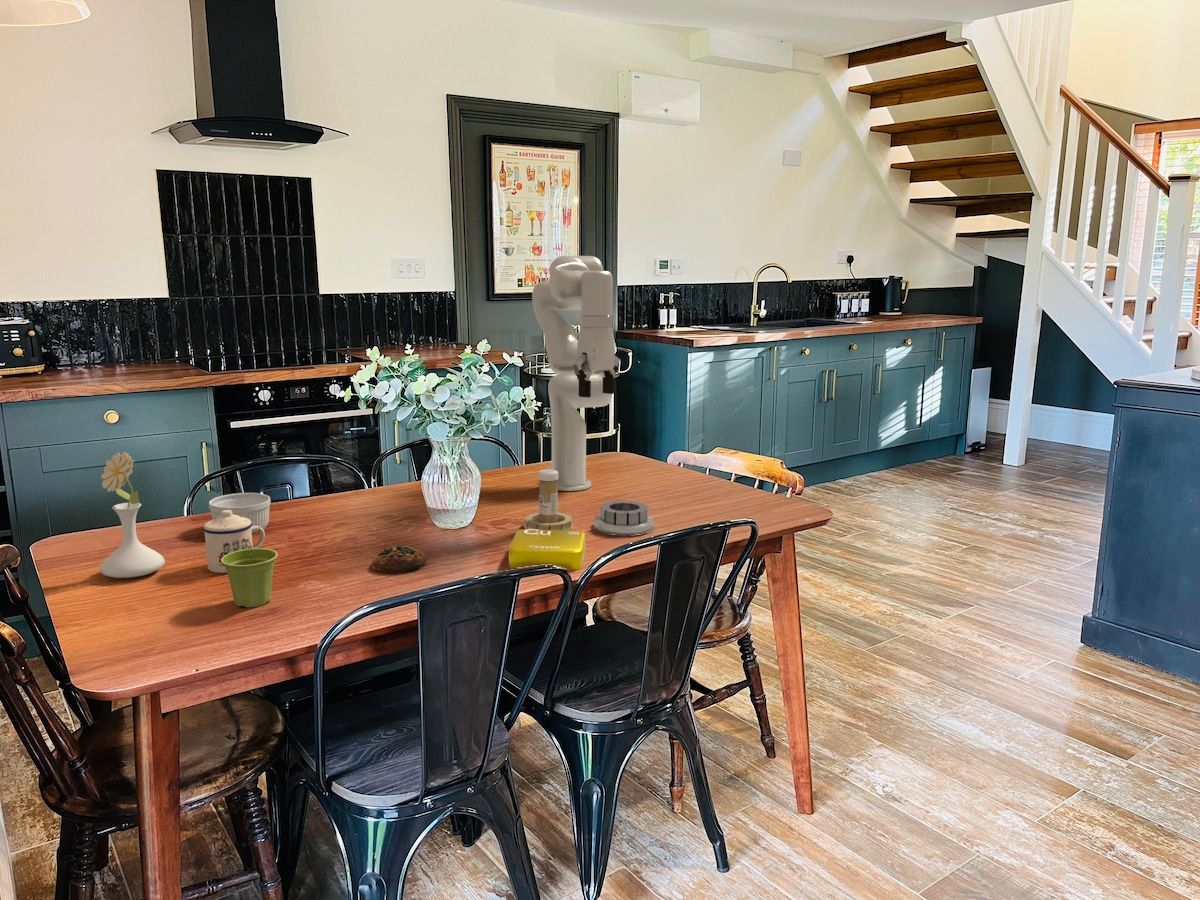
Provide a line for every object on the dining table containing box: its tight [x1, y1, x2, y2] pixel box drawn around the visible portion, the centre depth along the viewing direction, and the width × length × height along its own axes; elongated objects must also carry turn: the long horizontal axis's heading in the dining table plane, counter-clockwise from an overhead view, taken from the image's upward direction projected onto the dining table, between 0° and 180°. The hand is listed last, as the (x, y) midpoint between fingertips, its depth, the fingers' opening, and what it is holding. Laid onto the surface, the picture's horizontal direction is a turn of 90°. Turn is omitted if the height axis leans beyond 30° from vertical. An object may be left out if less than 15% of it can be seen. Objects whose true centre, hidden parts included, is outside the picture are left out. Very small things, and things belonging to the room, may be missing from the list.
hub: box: [593, 500, 655, 535], centre depth 207 cm, size 14×14×5 cm
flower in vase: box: [99, 451, 166, 579], centre depth 171 cm, size 13×11×25 cm
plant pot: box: [221, 547, 279, 608], centre depth 159 cm, size 9×9×9 cm
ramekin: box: [208, 492, 272, 534], centre depth 203 cm, size 13×13×7 cm
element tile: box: [508, 528, 586, 571], centre depth 185 cm, size 15×15×5 cm
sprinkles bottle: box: [538, 469, 559, 523], centre depth 207 cm, size 5×5×14 cm
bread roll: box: [371, 545, 427, 574], centre depth 180 cm, size 11×11×5 cm
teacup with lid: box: [202, 510, 266, 574], centre depth 178 cm, size 12×9×12 cm
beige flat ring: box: [523, 512, 574, 531], centre depth 208 cm, size 11×11×2 cm
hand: (596, 395), depth 213 cm, fingers open, 9 cm apart
